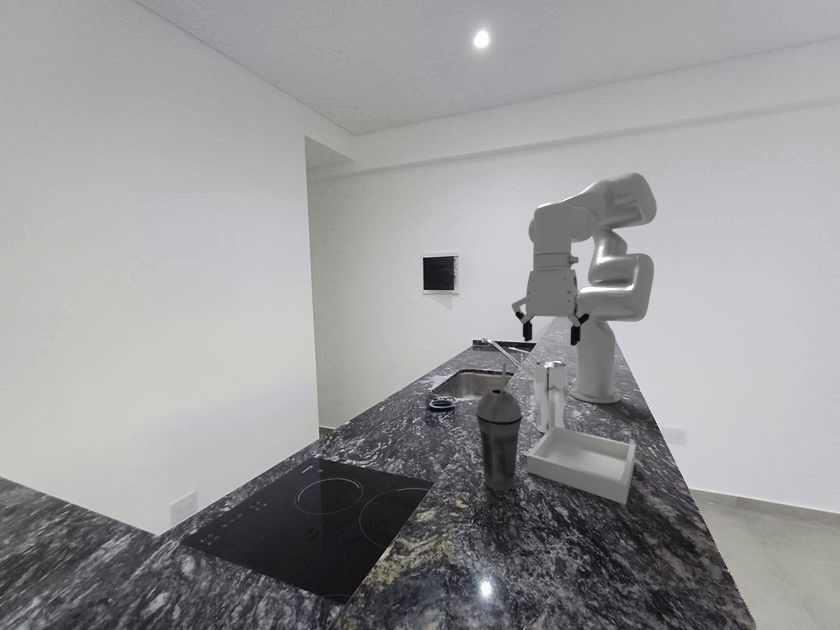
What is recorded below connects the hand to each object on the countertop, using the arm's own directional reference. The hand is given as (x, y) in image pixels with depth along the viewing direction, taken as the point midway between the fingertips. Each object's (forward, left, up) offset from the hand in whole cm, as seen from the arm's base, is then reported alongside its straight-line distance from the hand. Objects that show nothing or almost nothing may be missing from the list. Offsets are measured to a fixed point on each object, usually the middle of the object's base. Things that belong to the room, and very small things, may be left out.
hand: (550, 342), depth 70 cm
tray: (+12, +9, -20) cm, 25 cm away
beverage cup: (+25, -1, -20) cm, 32 cm away
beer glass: (0, 0, -20) cm, 20 cm away
